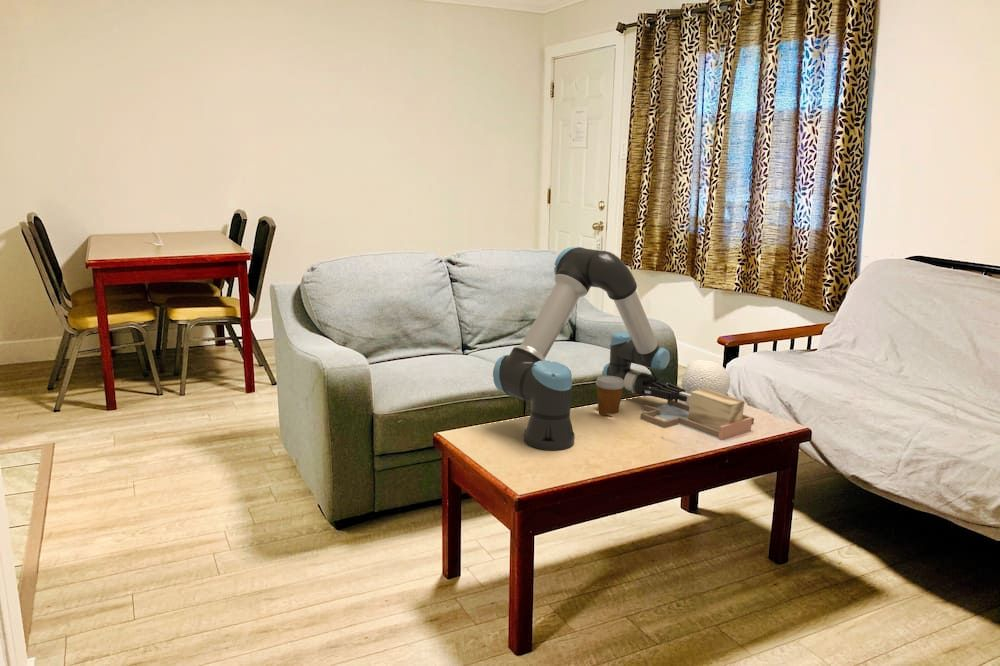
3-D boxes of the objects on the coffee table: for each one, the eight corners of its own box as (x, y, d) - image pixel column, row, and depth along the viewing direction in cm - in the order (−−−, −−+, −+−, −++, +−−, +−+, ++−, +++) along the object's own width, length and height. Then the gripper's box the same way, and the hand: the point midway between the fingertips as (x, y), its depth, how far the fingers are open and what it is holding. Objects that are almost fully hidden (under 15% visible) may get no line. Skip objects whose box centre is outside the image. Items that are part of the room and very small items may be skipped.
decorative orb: (696, 415, 256) (700, 369, 252) (662, 399, 271) (666, 356, 268) (741, 407, 265) (745, 363, 261) (705, 393, 280) (709, 351, 277)
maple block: (726, 436, 234) (730, 405, 232) (687, 421, 245) (690, 391, 243) (740, 431, 238) (744, 401, 236) (701, 417, 250) (704, 388, 247)
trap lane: (706, 448, 227) (708, 431, 226) (627, 417, 251) (628, 402, 250) (762, 430, 244) (764, 414, 242) (683, 403, 268) (684, 388, 267)
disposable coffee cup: (624, 419, 250) (626, 384, 247) (595, 418, 250) (597, 383, 247) (620, 409, 259) (622, 375, 256) (592, 408, 259) (594, 374, 256)
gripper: (651, 390, 269) (707, 408, 251) (626, 396, 261) (682, 416, 243) (653, 369, 267) (710, 386, 249) (628, 375, 259) (684, 393, 241)
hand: (696, 401), depth 246 cm, fingers closed
